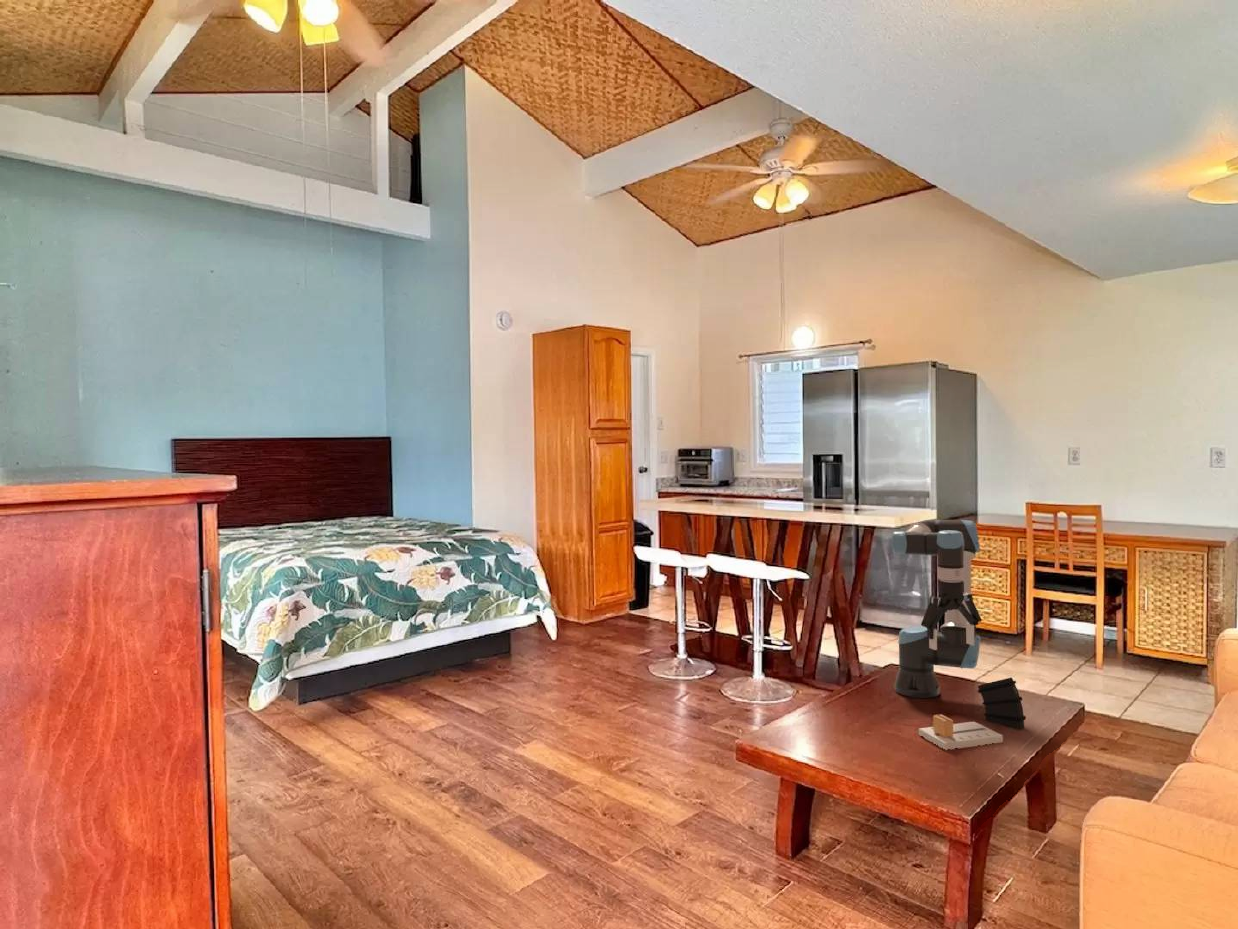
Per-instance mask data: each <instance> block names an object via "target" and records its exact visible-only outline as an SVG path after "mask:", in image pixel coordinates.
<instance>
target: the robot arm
mask: <svg viewBox="0 0 1238 929" xmlns="http://www.w3.org/2000/svg"><path fill="white" fill-rule="evenodd" d="M979 541H980V540H979V534H978V530H977V525H976V522H974V521H973V520H967V519H966V520H965V519H935V518H934V519H925V520H920V521H917V522H914V523H912V524H910V525H909V526H908V527H907V528H906V530H905V531H903V530H901V531H893V532H892V534H891V550H892V553H893V554H896V555H898V554H899V555H918V556H919V555H920V556H921V555H922V556H937V578H938V581H937V591H938V594H939V595H938V597H936V596H933V595H932V596H931V595H930V597H929V604H928V605H927V607H926V611H925V613H924V616H923V619H922V621H921V624H920V625H914V626H908V627H904V628H902V629H901V630H900V631H899V633H898V642H897V643H898V662H899V663H898V672H897V675H896V679H895V681H894V687H893V688H894V691H895V692H896V693H898V694H900V695H903V696H906V697H910V698H917V699H930V698H931V699H932V698H935V697H938V696H939V695H940V685H939V683H938V680H937V677H936V674H935V670H934V669H935V668H934V666H940V667H950V668H959V669H969V670H970V669H975V668H976V666H978V661H979V655H980V646H981V636H980V635H978V634H977V629H976V628H977V626H978V625H979V623H980V622H982V620H983V619H982V617H981V615H980V613H979V611H978V609H977V607H976V604H975V602H974V600H973V599H974V598H973V595H972V560H974V558H976V553H979V552H980V551H981V550H980V542H979ZM943 616H944V623H943V624H942V625H941V626H940V628H939V631H938V630H937V628H935V627H936V626H937V625H938V623H939V622H940V620H941V619H942V618H943Z"/></svg>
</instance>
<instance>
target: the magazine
mask: <svg viewBox="0 0 1238 929" xmlns="http://www.w3.org/2000/svg"><path fill="white" fill-rule="evenodd" d="M1016 684H1017V681H1016V680H1014V679H1013V677H1008V678H1004V679H1003V678H1002V679H1000V680H996V681H995V680H994V681H991V682H987V683H983V684H980V685H978V686H977V687H978V688H977V689H978V690H977V693H978V694H980V695H981V697H982V700H983V702H982V703H981V704H982V706H984V709H985V710H984V711H985V713H983V716H984V717H985V721H987V720H988V722H990V721H991V723H995V724H999V725H1001V724H1002V725H1001V726H1005V725H1006V727H1008V728H1009V727H1010V728H1012V729H1017V730H1022V729H1024V728H1025V720H1026V719H1027V718H1026V715H1024V710H1023V704H1022V701H1023V697H1022V696H1020V694H1019V690H1018V688H1017V686H1016Z"/></svg>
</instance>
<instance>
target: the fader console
mask: <svg viewBox="0 0 1238 929" xmlns="http://www.w3.org/2000/svg"><path fill="white" fill-rule="evenodd" d="M918 735H919V736H920V737H921V736H923V737H924V738H923V737H922V738H923V739H925V740H927V741H929V742H930V743H932V742H933V743H932V744H934V745H935V744H936V746H937V745H938V746H937V747H939V748H940V749H942V748H943V749H942V750H944V749H945V750H944V751H949V750H948V749H950V750H955V748H958V749H963V748H964V749H965V748H970V747H971V748H973V747H977V746H978V745H980V746H984V745H985V744H987V745H992V743H994V744H1000V743H1003V742H1004V735H1003V734H1001V733H998V732H996V731H994V730H992V729H991V728H988V727H986V726H984V725H982V724H979V723H977V722H976V721H968V722H967V721H966V722H959V723H953V736H950V737H943V736H941V735H940V734H938V733H936V732H934V731H933V726H928V727H920V728H918ZM985 746H986V745H985Z"/></svg>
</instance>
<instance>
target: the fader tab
mask: <svg viewBox="0 0 1238 929" xmlns="http://www.w3.org/2000/svg"><path fill="white" fill-rule="evenodd" d="M932 722H933V723H932V727H933V731H934V732H936V733H938V734H940V735H941V736H943V737H950V736H953V724H954V720H953V719H951V718H949V717H948V716H946V715H943V714H942V713H941V714H939V713H937V714H934V715H933V716H932Z"/></svg>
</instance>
